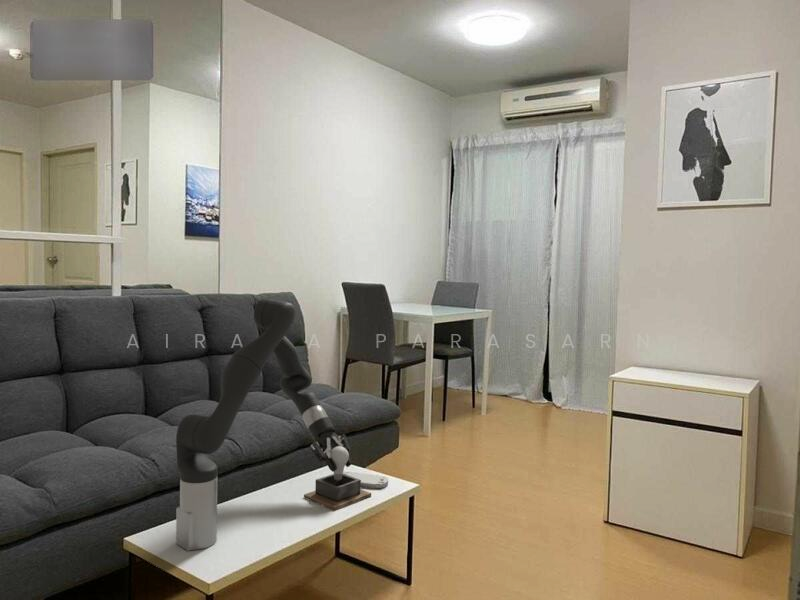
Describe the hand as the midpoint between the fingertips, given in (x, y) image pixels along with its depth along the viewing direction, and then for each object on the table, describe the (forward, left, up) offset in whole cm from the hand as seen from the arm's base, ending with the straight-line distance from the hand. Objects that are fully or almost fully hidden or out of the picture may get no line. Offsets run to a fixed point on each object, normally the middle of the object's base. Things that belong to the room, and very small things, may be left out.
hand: (342, 467), depth 191 cm
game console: (+15, +5, -10) cm, 19 cm away
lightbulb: (0, +2, -5) cm, 5 cm away
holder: (0, +2, -10) cm, 10 cm away
